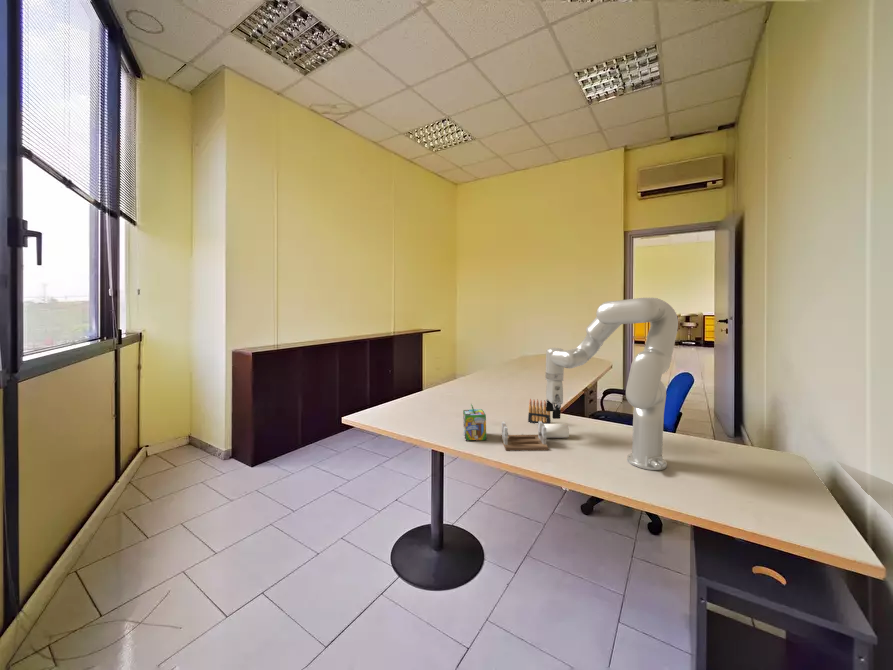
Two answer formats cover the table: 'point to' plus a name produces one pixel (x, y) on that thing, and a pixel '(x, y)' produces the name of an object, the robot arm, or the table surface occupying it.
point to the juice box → (474, 424)
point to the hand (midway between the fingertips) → (552, 414)
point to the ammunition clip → (538, 413)
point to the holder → (524, 439)
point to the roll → (557, 430)
